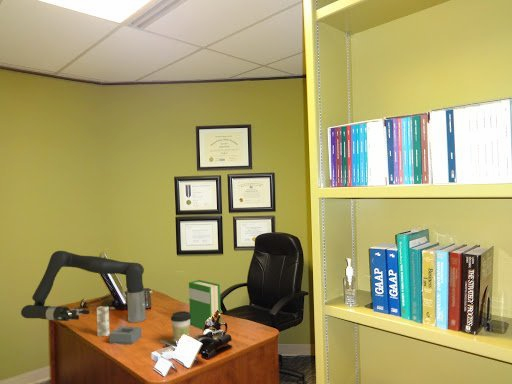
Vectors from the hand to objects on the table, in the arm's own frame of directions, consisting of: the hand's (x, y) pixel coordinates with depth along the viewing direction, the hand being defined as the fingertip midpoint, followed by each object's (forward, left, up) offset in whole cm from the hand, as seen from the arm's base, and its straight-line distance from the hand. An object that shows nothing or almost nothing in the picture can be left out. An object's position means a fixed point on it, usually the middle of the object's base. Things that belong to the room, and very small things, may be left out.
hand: (83, 314), depth 203 cm
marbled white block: (-8, +8, -11) cm, 16 cm away
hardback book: (-57, +30, -11) cm, 65 cm away
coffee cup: (-37, +45, -11) cm, 59 cm away
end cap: (-16, +22, -11) cm, 29 cm away
